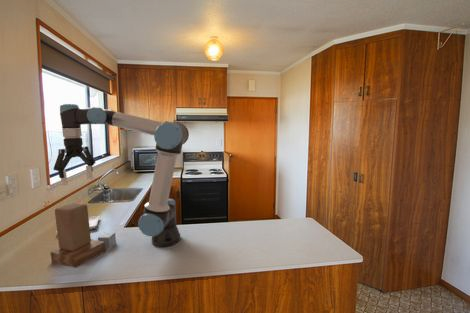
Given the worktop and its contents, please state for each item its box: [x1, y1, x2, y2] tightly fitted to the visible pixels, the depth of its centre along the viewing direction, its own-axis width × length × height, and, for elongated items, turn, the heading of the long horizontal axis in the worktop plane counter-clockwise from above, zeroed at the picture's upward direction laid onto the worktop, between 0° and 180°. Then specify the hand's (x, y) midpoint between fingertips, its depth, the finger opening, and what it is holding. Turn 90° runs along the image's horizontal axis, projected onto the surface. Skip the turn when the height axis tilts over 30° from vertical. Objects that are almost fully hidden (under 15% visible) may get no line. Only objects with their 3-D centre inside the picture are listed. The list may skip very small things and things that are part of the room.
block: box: [54, 203, 92, 251], centre depth 122 cm, size 10×10×20 cm
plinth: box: [50, 238, 107, 269], centre depth 123 cm, size 16×16×5 cm
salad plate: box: [55, 215, 101, 234], centre depth 160 cm, size 21×21×3 cm
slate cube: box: [97, 231, 117, 249], centre depth 134 cm, size 6×6×6 cm
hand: (77, 181), depth 123 cm, fingers open, 13 cm apart
